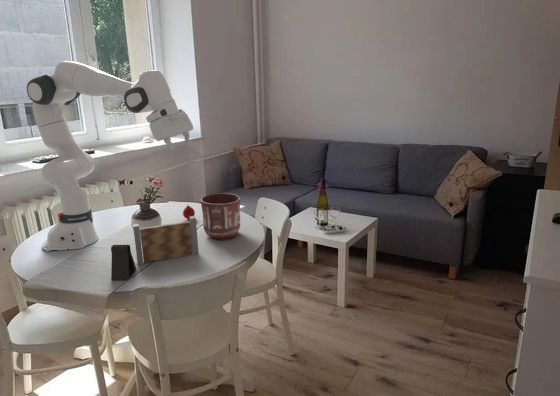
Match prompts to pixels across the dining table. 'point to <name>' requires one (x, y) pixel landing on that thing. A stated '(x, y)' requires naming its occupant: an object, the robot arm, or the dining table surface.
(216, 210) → the pottery
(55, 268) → the dining table surface
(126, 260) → the phone stand
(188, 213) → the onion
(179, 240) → the door
